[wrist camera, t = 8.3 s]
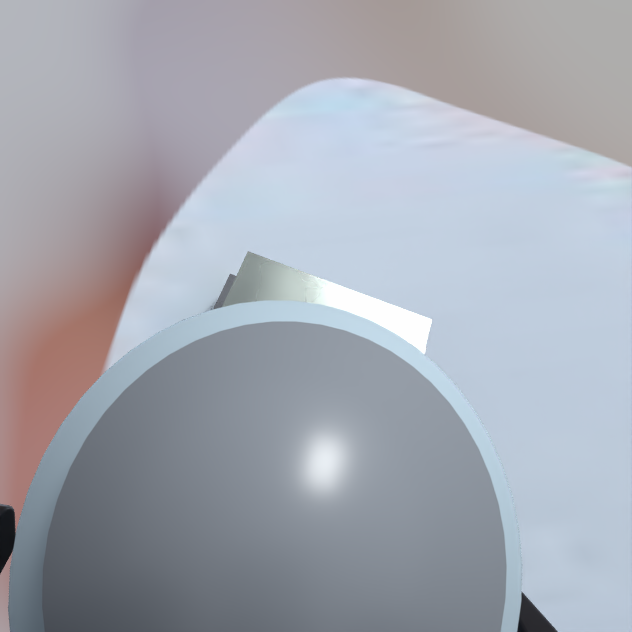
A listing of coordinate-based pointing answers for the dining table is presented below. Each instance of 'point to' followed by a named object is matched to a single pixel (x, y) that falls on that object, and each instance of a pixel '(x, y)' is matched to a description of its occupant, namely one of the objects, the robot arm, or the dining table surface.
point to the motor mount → (317, 296)
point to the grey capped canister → (269, 489)
